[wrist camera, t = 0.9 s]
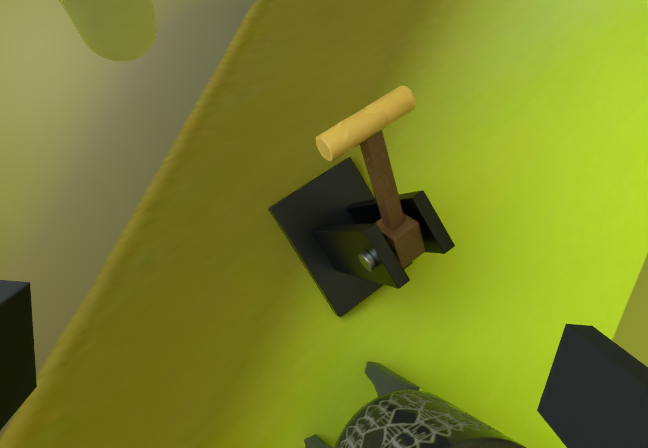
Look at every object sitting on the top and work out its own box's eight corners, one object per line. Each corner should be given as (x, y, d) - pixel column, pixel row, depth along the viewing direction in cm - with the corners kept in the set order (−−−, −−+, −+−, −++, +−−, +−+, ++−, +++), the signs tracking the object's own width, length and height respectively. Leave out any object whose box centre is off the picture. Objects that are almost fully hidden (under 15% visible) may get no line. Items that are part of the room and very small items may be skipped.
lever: (308, 131, 23) (330, 142, 22) (391, 81, 25) (418, 88, 23) (359, 268, 30) (380, 285, 28) (422, 222, 32) (445, 236, 30)
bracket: (267, 208, 39) (305, 196, 25) (346, 158, 41) (418, 124, 28) (335, 315, 40) (404, 356, 27) (407, 262, 43) (502, 275, 29)
